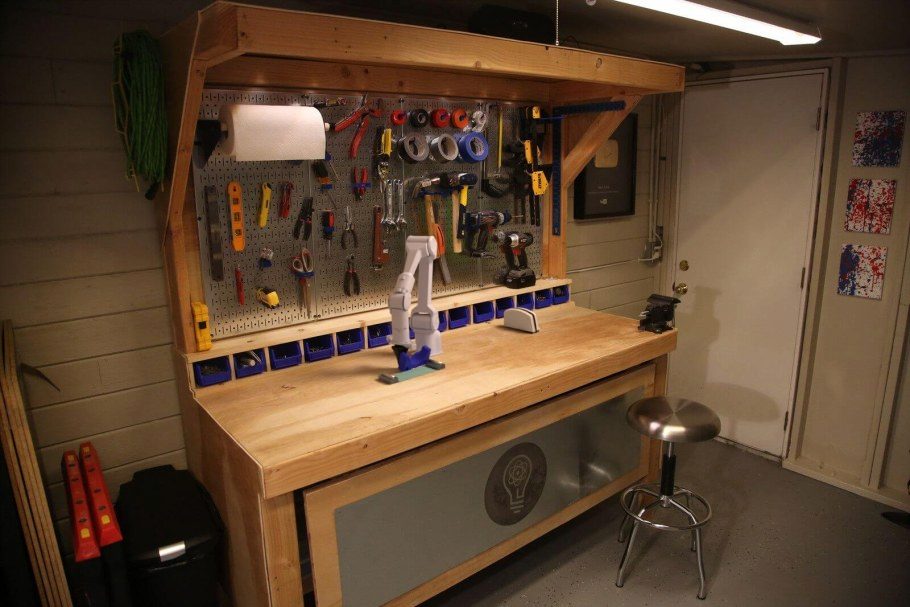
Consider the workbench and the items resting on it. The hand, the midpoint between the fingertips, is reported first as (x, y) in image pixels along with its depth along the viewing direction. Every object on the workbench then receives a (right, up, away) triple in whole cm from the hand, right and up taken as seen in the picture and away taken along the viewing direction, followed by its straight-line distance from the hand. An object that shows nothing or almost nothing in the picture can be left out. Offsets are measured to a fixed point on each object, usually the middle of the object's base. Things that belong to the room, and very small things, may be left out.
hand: (402, 365), depth 211 cm
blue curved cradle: (+3, 0, +3) cm, 4 cm away
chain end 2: (+11, -1, +2) cm, 12 cm away
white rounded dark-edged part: (+47, +10, +48) cm, 68 cm away
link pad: (+4, -2, -5) cm, 7 cm away
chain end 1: (-3, -4, -11) cm, 13 cm away
